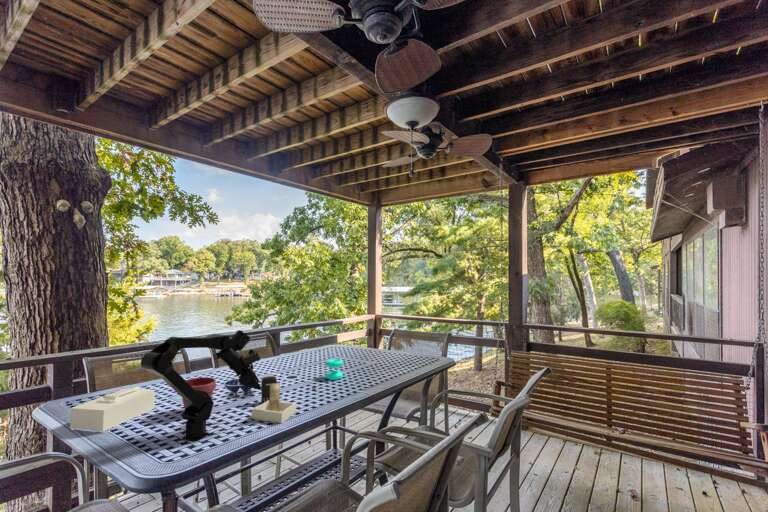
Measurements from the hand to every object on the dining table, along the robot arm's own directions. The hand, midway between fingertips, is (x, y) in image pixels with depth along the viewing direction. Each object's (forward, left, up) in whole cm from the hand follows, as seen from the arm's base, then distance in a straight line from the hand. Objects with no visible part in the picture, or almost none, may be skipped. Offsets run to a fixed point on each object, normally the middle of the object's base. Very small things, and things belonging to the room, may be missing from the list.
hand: (259, 385), depth 153 cm
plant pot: (0, +30, -14) cm, 33 cm away
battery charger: (+19, +7, -14) cm, 24 cm away
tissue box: (-16, +57, -14) cm, 60 cm away
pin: (+4, -5, -12) cm, 14 cm away
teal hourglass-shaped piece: (+64, -7, -14) cm, 66 cm away
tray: (+4, -5, -13) cm, 15 cm away
